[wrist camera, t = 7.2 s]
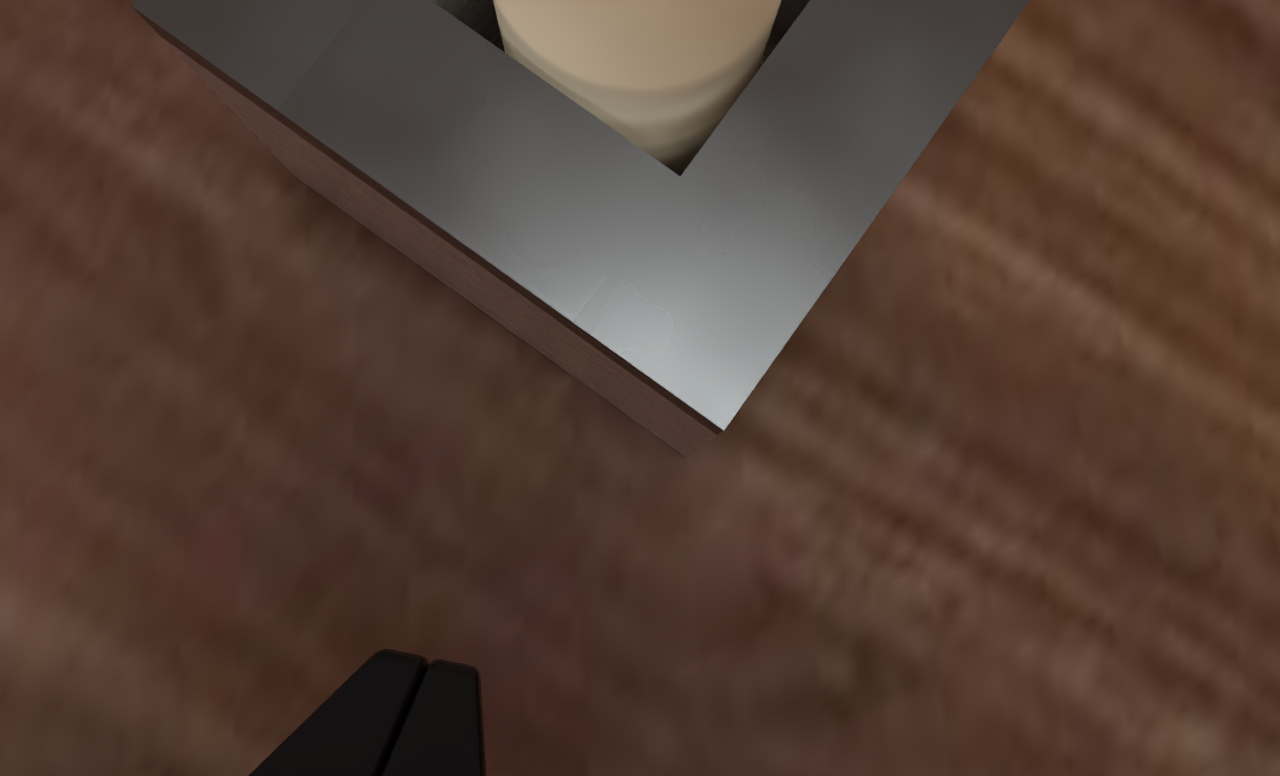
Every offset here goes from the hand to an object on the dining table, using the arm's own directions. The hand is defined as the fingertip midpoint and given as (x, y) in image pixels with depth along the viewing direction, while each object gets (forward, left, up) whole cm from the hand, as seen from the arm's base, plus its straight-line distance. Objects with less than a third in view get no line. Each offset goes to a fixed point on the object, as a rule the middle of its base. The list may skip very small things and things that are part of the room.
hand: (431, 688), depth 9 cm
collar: (+9, +4, -13) cm, 17 cm away
